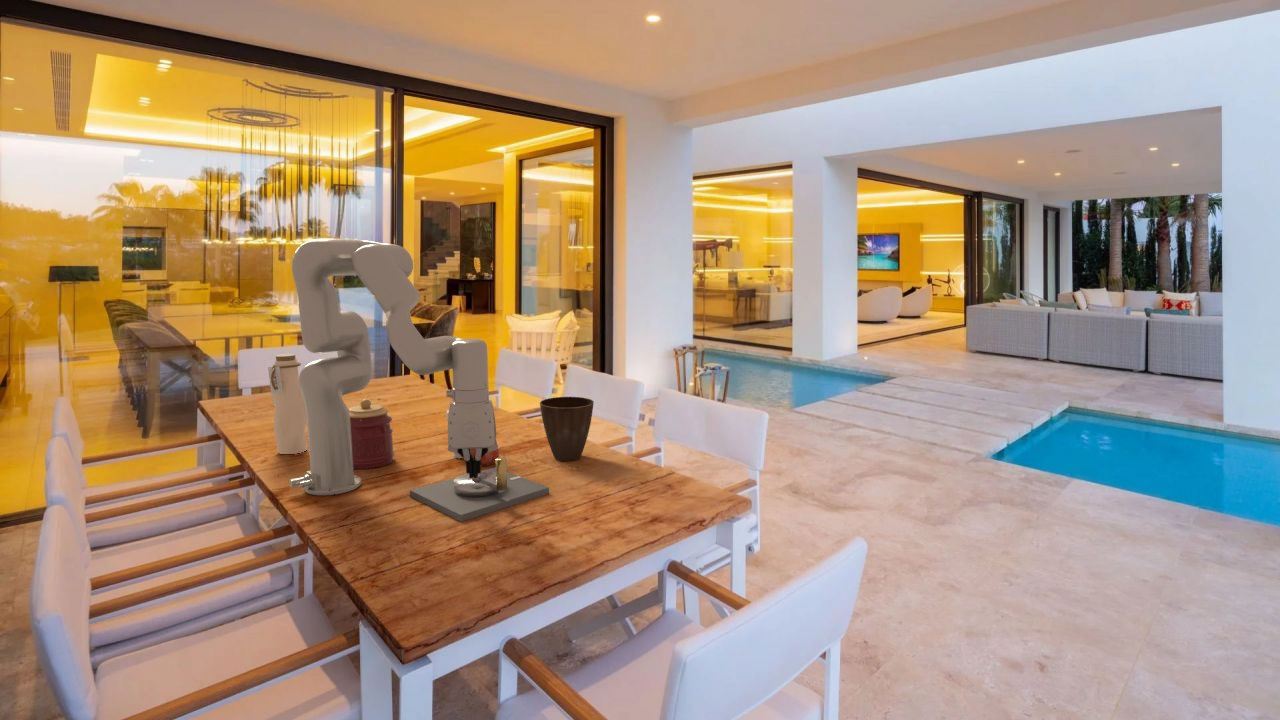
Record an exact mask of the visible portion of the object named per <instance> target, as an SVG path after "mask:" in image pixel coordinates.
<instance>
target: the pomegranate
mask: <svg viewBox="0 0 1280 720" xmlns="http://www.w3.org/2000/svg"><path fill="white" fill-rule="evenodd" d="M471 455H472V457H473V458H474V457H475V455H476V448H471ZM496 458H500V451H499V447H498V448H497V450H495V451H491V452H487V453H486V454H485V455H484V456H483V457H482V458H481V467H487V466H490V465H493V464H496Z"/></svg>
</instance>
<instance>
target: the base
mask: <svg viewBox="0 0 1280 720" xmlns="http://www.w3.org/2000/svg"><path fill="white" fill-rule="evenodd" d="M482 471H489V472H496V466H494V467H492V468H488V469H485V470H482ZM455 478H456V477H454V478H450V479H446V480H442V481H439V482H435V483H432V484H428V485H424V486H421V487H416V488H413V489H410V490H409V496H410V497H411V498H413V499H415V500H417V501H419V502H421V503H423V504H425V505H428V506H429V507H431V508H433V509H435V510H437V511H439V512H441V513H443V514H445V515H447V516H448V517H451V518H453V519H455V520H457V521H459V522H464V521H468V520H471V519H475V518H477V517H480V516H483V515H484V516H485V515H486V514H490V513H493V512H495V511H498V510H502V509H505V508H508V507H511V506H515V505H517V504H521V503H523V502H527V501H529V500H533V499H536V498H539V497H542V496H546V495H549V494H550V487H549V486H547V485H544V484H540V483H538V482H535V481H533V480H531V479H527V478H525V477H523V476H520V475H517V474H515V473H513V472H509V471H507V489H506V490H505V491H504V492H500V493H495V494H492V495H487V496H477V497H471V496H463V495H459V494H457V493H455V492H454V485H453V481H454V479H455Z"/></svg>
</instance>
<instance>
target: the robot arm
mask: <svg viewBox="0 0 1280 720" xmlns="http://www.w3.org/2000/svg"><path fill="white" fill-rule="evenodd" d="M413 269H414V260H413V258H412V255H411V254H410V253H409V251H408V250H407V249H406V248H404V247H403V246H401V245H399V244H394V243H393V244H392V243H384V242H377V241H371V240H364V239H355V238H354V239H350V238H317V239H316V238H315V239H310V240H308V241H305V242H303V243H302V244H301V245H299V246H298V248H297V249H296V250H295V252H294V254H293V257H292V261H291V272H292V277H293V282H294V284H295V285H294V286H295V289H296V293H297V298H298V312H299V320H300V321H299V322H300V332H301V339H302V344H303V345H304V347H305V349H306V350H307V351H308V352H310V353H312V354H327V353H328V354H329V353H335V352H337V356H332V357H326V358H321V359H317V360H313V361H311V362H309V363H308V364H306V365H305V366H304V367H303V368H302V369H301V370H300V373H299V385H300V389H301V393H302V396H303V399H304V404H305V409H306V418H307V420H306V428H307V439H308V441H307V443H308V455H309V465H310V467H309V468H310V470H307V471H305V472H306V474H304V475H303V476H302V477H296V478H290V479H289V481H288V482H289V483H288V485H289V487H290V488H297V487H299V488H300V489H302V488H304V492H306V493H307V494H309V495H312V496H333V495H334V494H335V495H340V494H344V493H348V492H352V491H354V490H356V489H358V487H361V484H362V478H361V477H360V476H357V475H355V472H354V470H355V469H354V468H353V452H352V436H351V422H350V413H349V408H348V406H347V405H346V403H345V402H344V399H343V398H342V397H343V396H346V395H349V394H352V393H356V392H359V391H362V390H364V389H366V388H367V387H368V385H369V384H370V382H371V380H372V374H373V372H372V358H371V345H370V334H369V328H368V325H367V323H366V321H365V320H364V319H363V317H362V316H361V315H360V314H358V313H357V312H354V311H350V310H341V311H340V304H339V295H338V291H337V289H336V288H335V287H336V286H334V283H332V281H331V280H330V277H335V276H338V277H339V276H342V277H344V276H346V277H347V276H357V277H358V278H359V279H360V280H361V282H362V283H363V285H364V286H365V287H366V289H367V290H368V291H369V292H370V294H371V295H372V297H373V298H374V300H376V302H377V303H378V305H379V307H380V308H381V309H382V311H383V312H384V313H385V316H386V318H385V328H386V334H387V338H388V341H389V344H390V346H391V347H392V349H393V351H394V352H395V354H396V355H397V356H398V357H399V359H400V360H401V361H402V363H403V364H404V366H406V367H407V368H408V369H409V370H411V371H412V372H413V373H415V374H417V375H420V376H426V375H427V376H428V375H432V374H435V373H439V372H444V371H448V370H452V389H450V390H446V391H445V392H446V394H445V395H446V397H447V398H451V399H452V401H451V402H449V406H448V410H449V412H448V421H447V444H448V447H447V451H448V452H450V453H453V452H455V453H459V454H460V455H461V456H462V457H463V458H464V461H465V467H466V468H465V469H466V474H467V473H469V478H473V477H474V478H477V476H478V473H481V471H482V466H481V458H482V457H483V456H484V455H485V454H486V453H487V452H491V451H495V450H497V448H498V449H499V447H498V443H497V423H496V415H495V409H494V404H493V401H492V400H491V399H490V393H489V391H490V390H489V362H488V358H489V357H488V344H487V342H486V341H484V339H480V338H461V337H457V336H453V335H441V336H437V337H436V336H435V337H429V338H424V336H422V335H421V333H420V332H419V331H418V329H417V327H415V325H414V323H413V321H412V317H411V311H412V310H413V309H414V308H415V307H416V306H417V304H418V303H419V301H420V298H421V297H420V296H421V295H420V292H419V291H418V290H417V288H416V287H415V285H414V284H413V283H412V281H410V278H409V277H410V275H412V274H413V271H414V270H413ZM470 448H476V455H475V457H474V458H473V457H472V455H471V450H470Z"/></svg>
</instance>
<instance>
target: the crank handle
mask: <svg viewBox="0 0 1280 720" xmlns="http://www.w3.org/2000/svg"><path fill="white" fill-rule="evenodd" d="M507 459H508V458H506V457H503V456H501V457H500V456H499V457H498V458H496V462H495V467H496V472H489V471H483V470H481V473H478V476H477V478H474V477H473V478H469V473H467V472H466V473H463V474H461V475H458V476H456V477H454V478H455V479H454V481H453V485H454V492H455V493H457V494H459V495H463V496H471V497H477V496H487V495H492V494H495V493H500V492H504V491H505V490H506V489H507V472H508V464H507V463H508V461H507Z"/></svg>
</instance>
